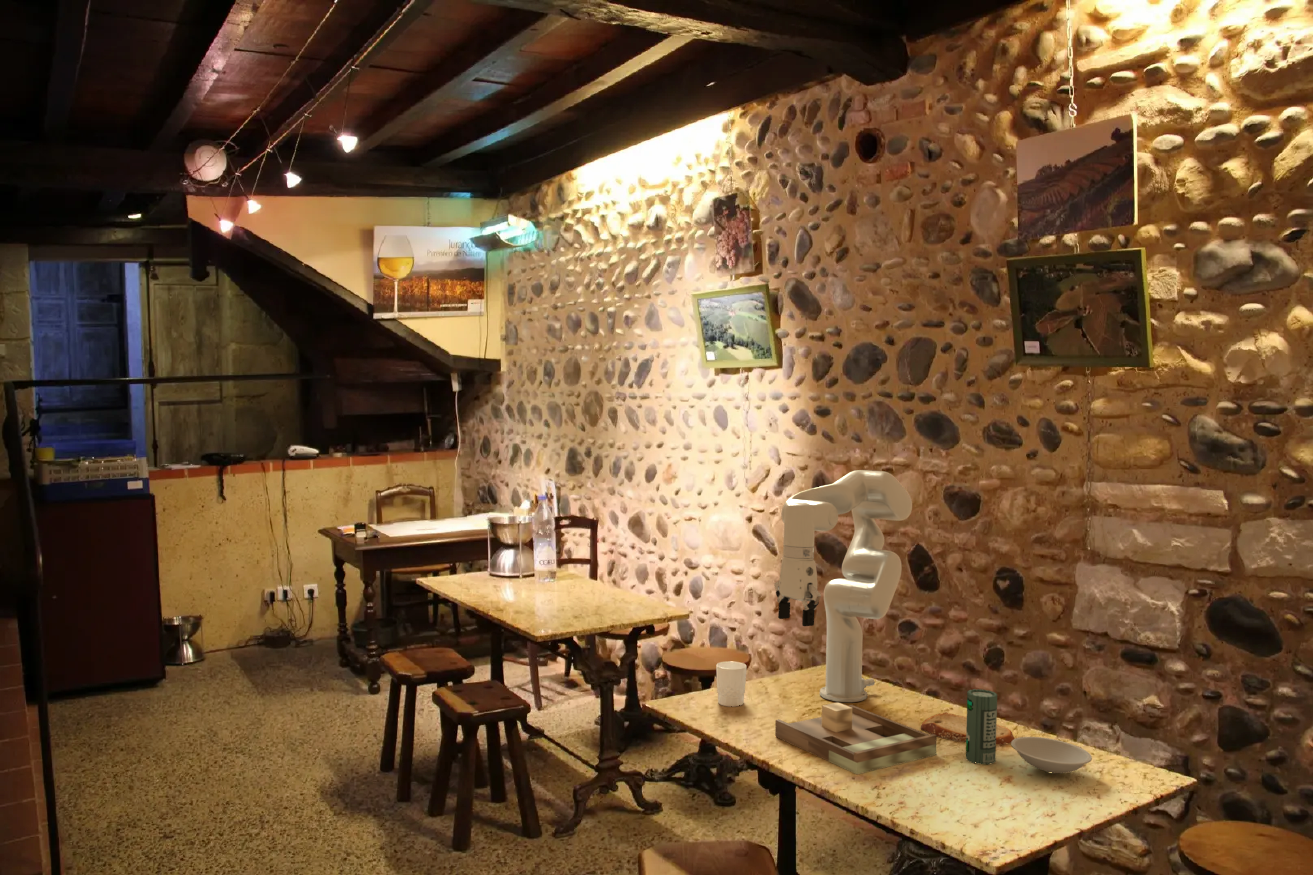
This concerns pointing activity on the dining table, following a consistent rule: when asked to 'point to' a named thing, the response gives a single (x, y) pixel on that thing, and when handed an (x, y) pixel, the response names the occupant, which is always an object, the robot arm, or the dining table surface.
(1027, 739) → the dish
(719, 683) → the white cup
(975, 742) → the can
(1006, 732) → the bread slice
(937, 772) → the dining table surface
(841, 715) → the maple block
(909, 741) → the box
